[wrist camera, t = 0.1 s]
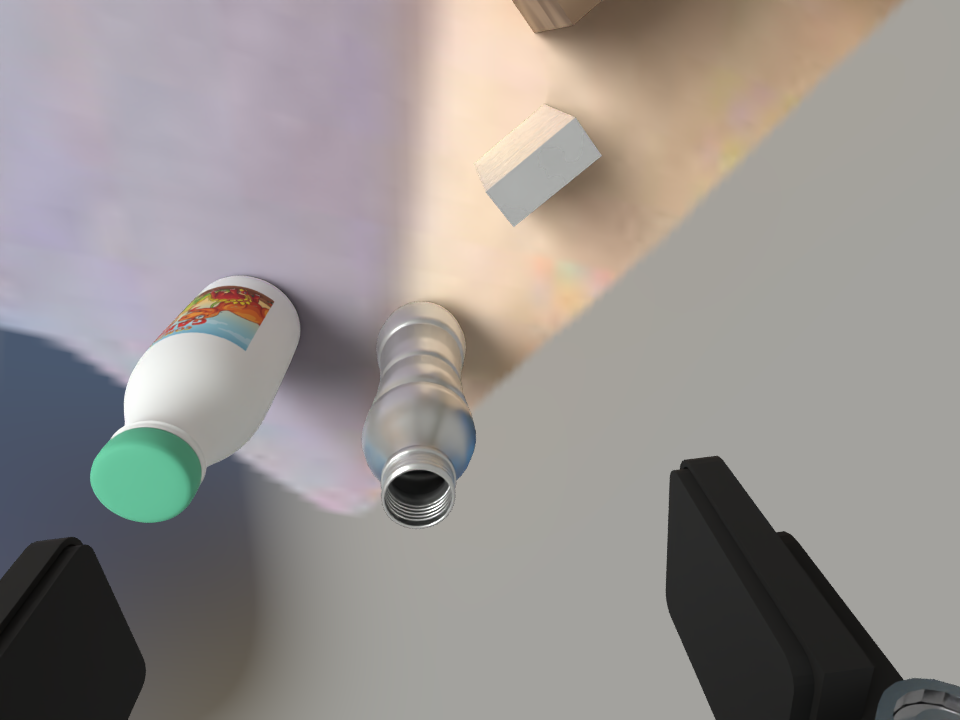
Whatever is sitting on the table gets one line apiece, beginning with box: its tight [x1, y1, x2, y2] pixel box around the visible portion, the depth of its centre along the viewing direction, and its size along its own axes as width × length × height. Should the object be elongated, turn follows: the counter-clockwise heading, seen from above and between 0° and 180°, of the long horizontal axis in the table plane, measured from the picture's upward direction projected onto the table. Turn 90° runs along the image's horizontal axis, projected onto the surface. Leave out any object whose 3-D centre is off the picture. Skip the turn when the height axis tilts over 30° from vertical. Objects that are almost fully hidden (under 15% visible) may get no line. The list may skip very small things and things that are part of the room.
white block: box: [474, 104, 602, 227], centre depth 39 cm, size 2×6×10 cm, turn 129°
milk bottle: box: [90, 276, 300, 523], centre depth 39 cm, size 8×8×20 cm
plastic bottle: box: [362, 301, 476, 529], centre depth 40 cm, size 6×7×20 cm
